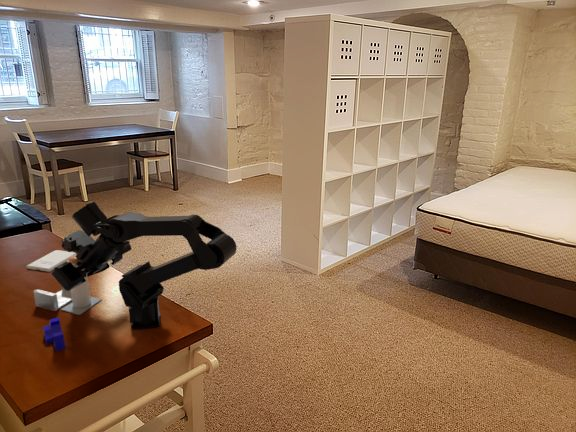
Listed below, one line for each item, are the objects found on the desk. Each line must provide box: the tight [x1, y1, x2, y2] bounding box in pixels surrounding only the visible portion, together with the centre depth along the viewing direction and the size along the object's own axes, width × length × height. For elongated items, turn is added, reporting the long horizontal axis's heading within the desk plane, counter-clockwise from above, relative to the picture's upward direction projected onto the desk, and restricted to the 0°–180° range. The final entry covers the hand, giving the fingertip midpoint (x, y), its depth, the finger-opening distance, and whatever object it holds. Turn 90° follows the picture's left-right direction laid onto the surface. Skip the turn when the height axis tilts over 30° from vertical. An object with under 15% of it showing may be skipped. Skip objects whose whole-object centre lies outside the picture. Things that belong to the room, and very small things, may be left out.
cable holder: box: [43, 316, 66, 352], centre depth 99 cm, size 8×4×4 cm, turn 33°
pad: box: [60, 296, 102, 316], centre depth 115 cm, size 6×8×1 cm
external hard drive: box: [26, 249, 77, 273], centre depth 138 cm, size 2×8×12 cm
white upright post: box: [67, 255, 91, 308], centre depth 112 cm, size 4×4×14 cm
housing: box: [33, 286, 72, 312], centre depth 116 cm, size 6×10×4 cm, turn 161°
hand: (74, 280), depth 113 cm, fingers closed on white upright post, 4 cm apart
